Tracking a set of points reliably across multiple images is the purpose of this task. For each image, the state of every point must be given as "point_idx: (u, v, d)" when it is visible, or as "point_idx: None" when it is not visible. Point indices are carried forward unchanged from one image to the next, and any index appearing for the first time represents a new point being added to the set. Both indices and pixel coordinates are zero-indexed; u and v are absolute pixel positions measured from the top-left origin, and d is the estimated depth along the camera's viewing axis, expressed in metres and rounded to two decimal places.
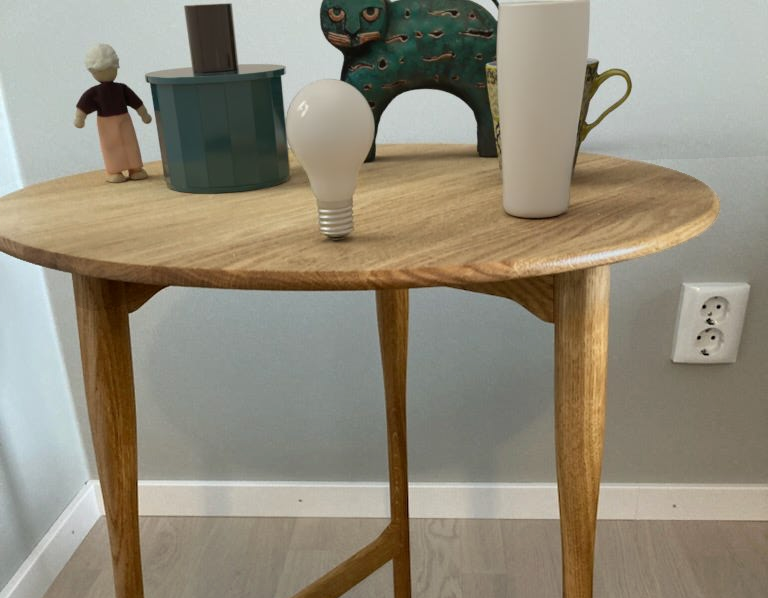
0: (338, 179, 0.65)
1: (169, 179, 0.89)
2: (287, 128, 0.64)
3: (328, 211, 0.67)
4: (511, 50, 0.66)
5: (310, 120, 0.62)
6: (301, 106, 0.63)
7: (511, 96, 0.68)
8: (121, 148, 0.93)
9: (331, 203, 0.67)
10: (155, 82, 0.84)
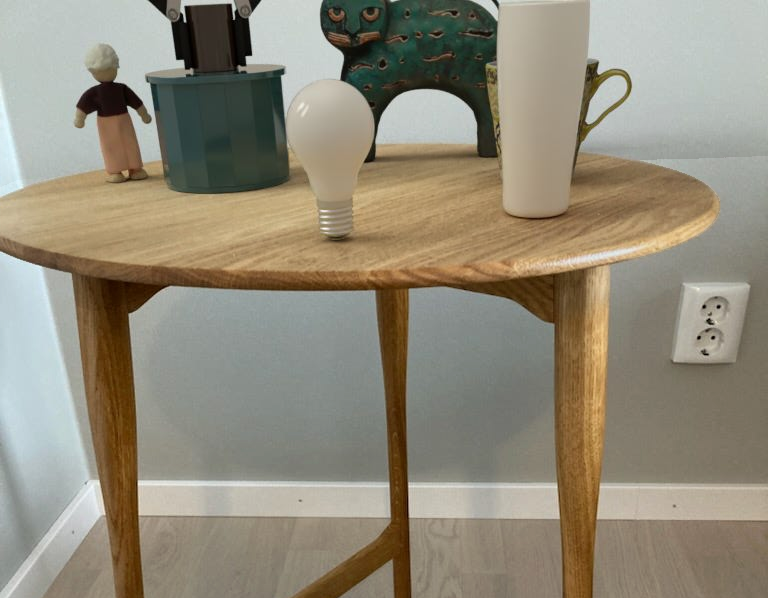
0: (338, 179, 0.65)
1: (169, 179, 0.89)
2: (287, 128, 0.64)
3: (328, 211, 0.67)
4: (512, 50, 0.66)
5: (310, 120, 0.62)
6: (301, 106, 0.63)
7: (511, 96, 0.68)
8: (121, 148, 0.93)
9: (331, 203, 0.67)
10: (155, 82, 0.84)
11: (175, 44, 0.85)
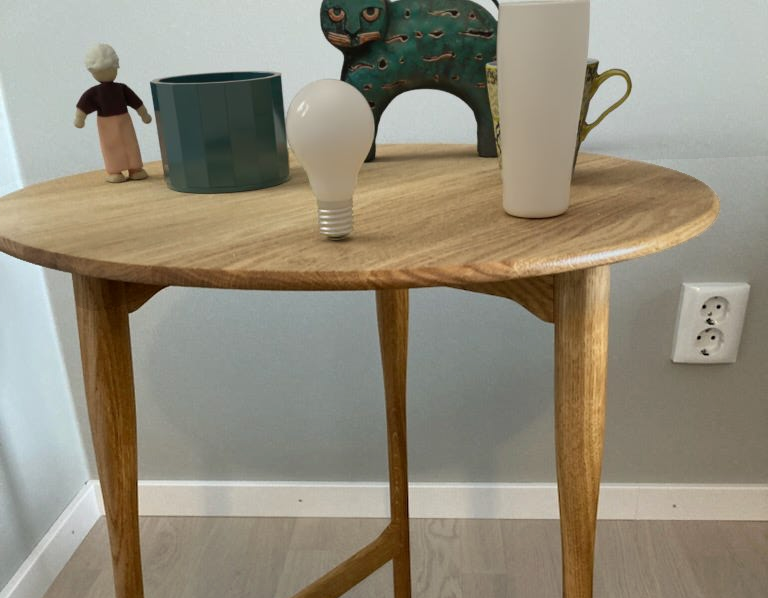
0: (338, 179, 0.65)
1: (169, 179, 0.89)
2: (287, 128, 0.64)
3: (328, 211, 0.67)
4: (512, 50, 0.66)
5: (310, 120, 0.62)
6: (301, 106, 0.63)
7: (511, 96, 0.68)
8: (121, 148, 0.93)
9: (331, 203, 0.67)
10: None
11: None
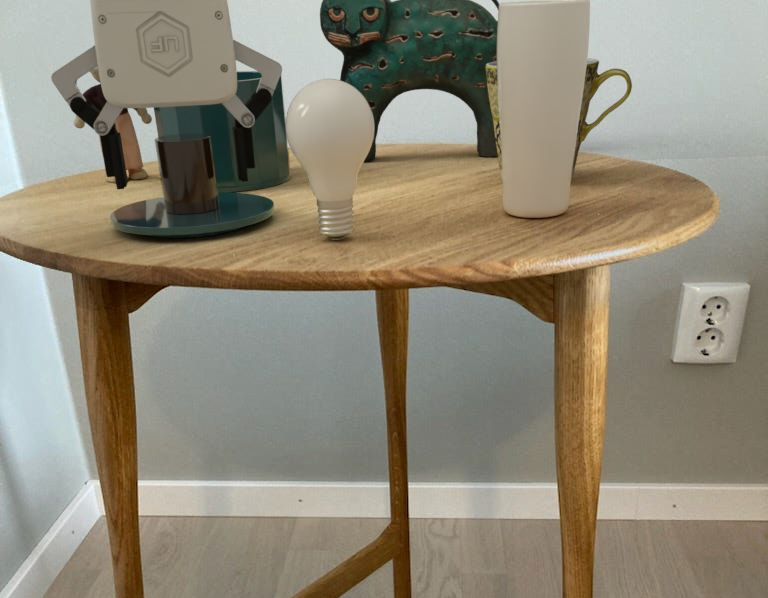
0: (338, 179, 0.65)
1: None
2: (287, 128, 0.64)
3: (328, 211, 0.67)
4: (512, 50, 0.66)
5: (310, 120, 0.62)
6: (301, 106, 0.63)
7: (511, 96, 0.68)
8: None
9: (331, 203, 0.67)
10: (121, 229, 0.72)
11: (105, 160, 0.71)
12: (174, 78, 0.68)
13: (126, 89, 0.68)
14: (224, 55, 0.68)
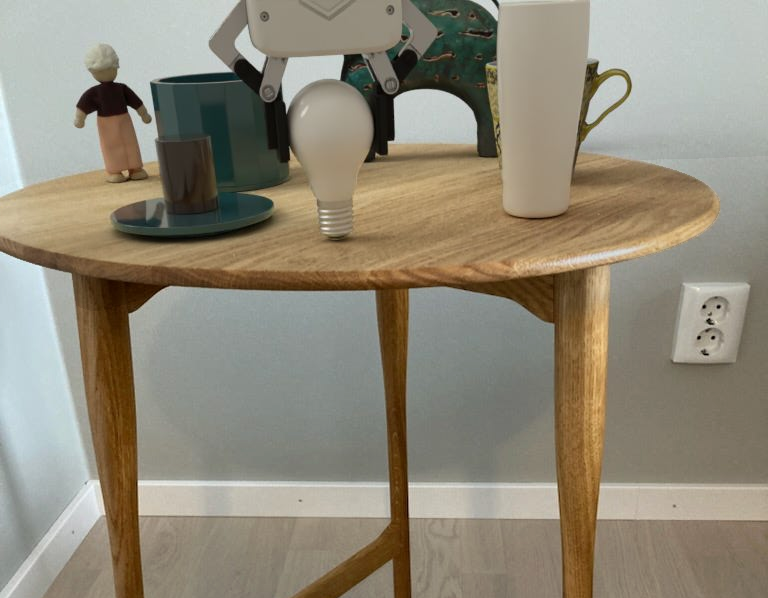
0: (338, 179, 0.65)
1: None
2: None
3: (328, 211, 0.67)
4: (512, 50, 0.66)
5: (309, 120, 0.62)
6: (301, 107, 0.63)
7: (511, 96, 0.68)
8: (121, 148, 0.93)
9: (331, 203, 0.67)
10: (121, 229, 0.72)
11: (269, 130, 0.64)
12: (334, 22, 0.60)
13: (281, 35, 0.59)
14: None
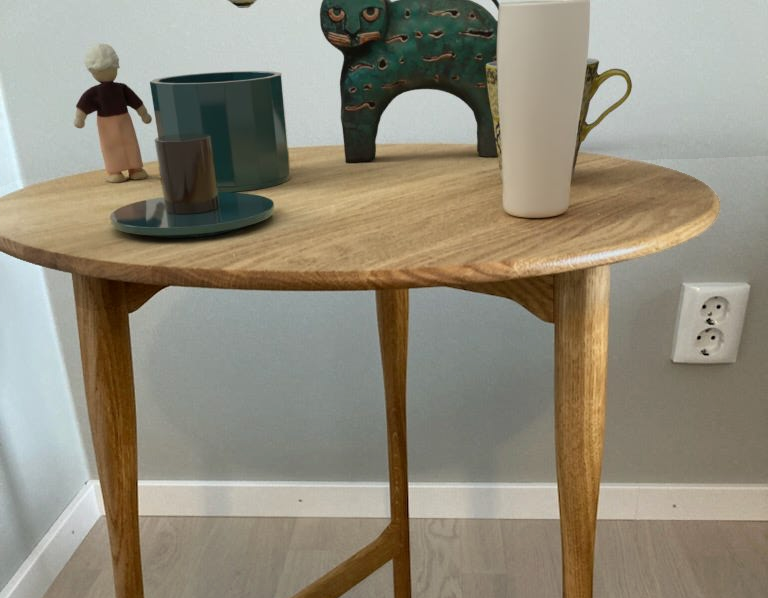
0: None
1: None
2: None
3: None
4: (512, 50, 0.66)
5: None
6: None
7: (511, 96, 0.68)
8: (121, 148, 0.93)
9: None
10: (121, 229, 0.72)
11: None
12: None
13: None
14: None
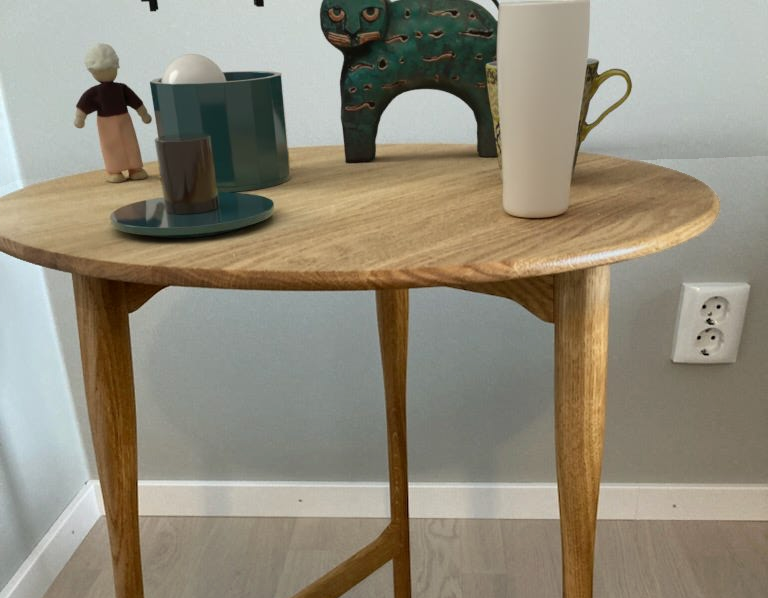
0: None
1: None
2: None
3: None
4: (512, 50, 0.66)
5: None
6: (167, 81, 0.85)
7: (511, 96, 0.68)
8: (121, 148, 0.93)
9: None
10: (121, 229, 0.72)
11: None
12: None
13: None
14: None
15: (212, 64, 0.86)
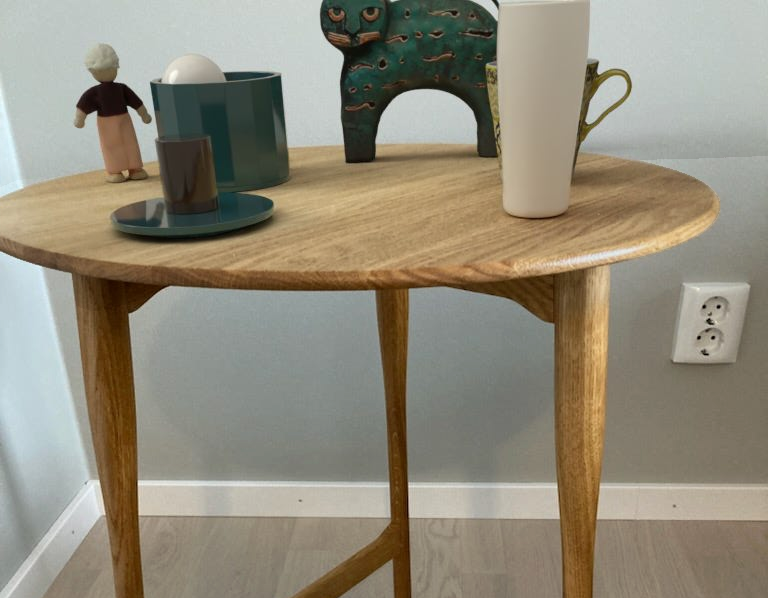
0: None
1: None
2: None
3: None
4: (512, 50, 0.66)
5: None
6: (167, 81, 0.85)
7: (511, 96, 0.68)
8: (121, 148, 0.93)
9: None
10: (121, 229, 0.72)
11: None
12: None
13: None
14: None
15: (212, 64, 0.86)
